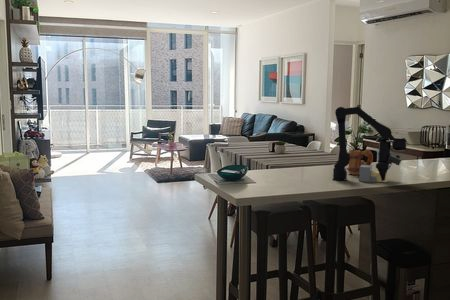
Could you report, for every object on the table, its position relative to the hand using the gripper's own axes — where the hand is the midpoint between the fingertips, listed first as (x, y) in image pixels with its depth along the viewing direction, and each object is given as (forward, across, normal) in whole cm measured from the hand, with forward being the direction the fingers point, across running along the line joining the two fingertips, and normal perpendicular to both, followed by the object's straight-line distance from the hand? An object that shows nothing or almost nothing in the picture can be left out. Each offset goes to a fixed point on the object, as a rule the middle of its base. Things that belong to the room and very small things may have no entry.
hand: (383, 179), depth 236 cm
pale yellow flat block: (+1, 0, +4) cm, 4 cm away
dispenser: (+1, 0, +8) cm, 8 cm away
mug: (+1, +17, +16) cm, 23 cm away
